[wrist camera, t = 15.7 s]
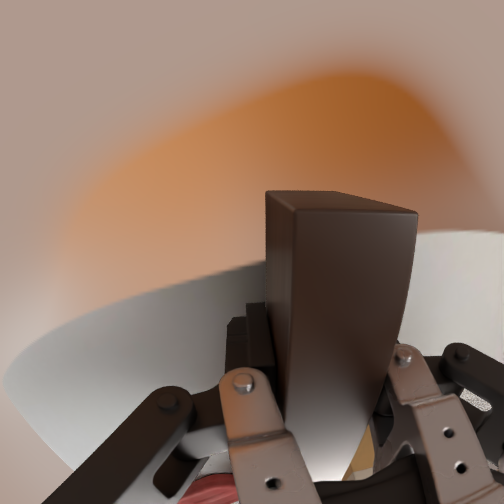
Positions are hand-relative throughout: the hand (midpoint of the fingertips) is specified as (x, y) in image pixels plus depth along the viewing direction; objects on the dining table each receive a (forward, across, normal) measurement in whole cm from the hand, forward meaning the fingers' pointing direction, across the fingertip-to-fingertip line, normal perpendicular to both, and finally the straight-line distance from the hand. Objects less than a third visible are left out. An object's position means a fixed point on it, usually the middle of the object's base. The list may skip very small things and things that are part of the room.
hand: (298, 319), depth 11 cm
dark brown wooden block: (0, 0, +6) cm, 6 cm away
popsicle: (+1, +9, +23) cm, 24 cm away
